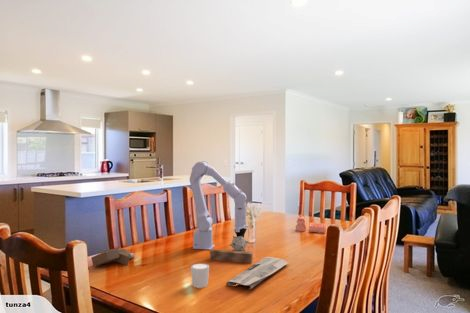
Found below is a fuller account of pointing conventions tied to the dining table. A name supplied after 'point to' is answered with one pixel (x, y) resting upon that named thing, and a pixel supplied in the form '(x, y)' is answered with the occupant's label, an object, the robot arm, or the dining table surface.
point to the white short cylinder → (200, 275)
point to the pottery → (313, 226)
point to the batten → (231, 256)
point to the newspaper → (258, 272)
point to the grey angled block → (112, 257)
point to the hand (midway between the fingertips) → (240, 243)
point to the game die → (239, 243)
